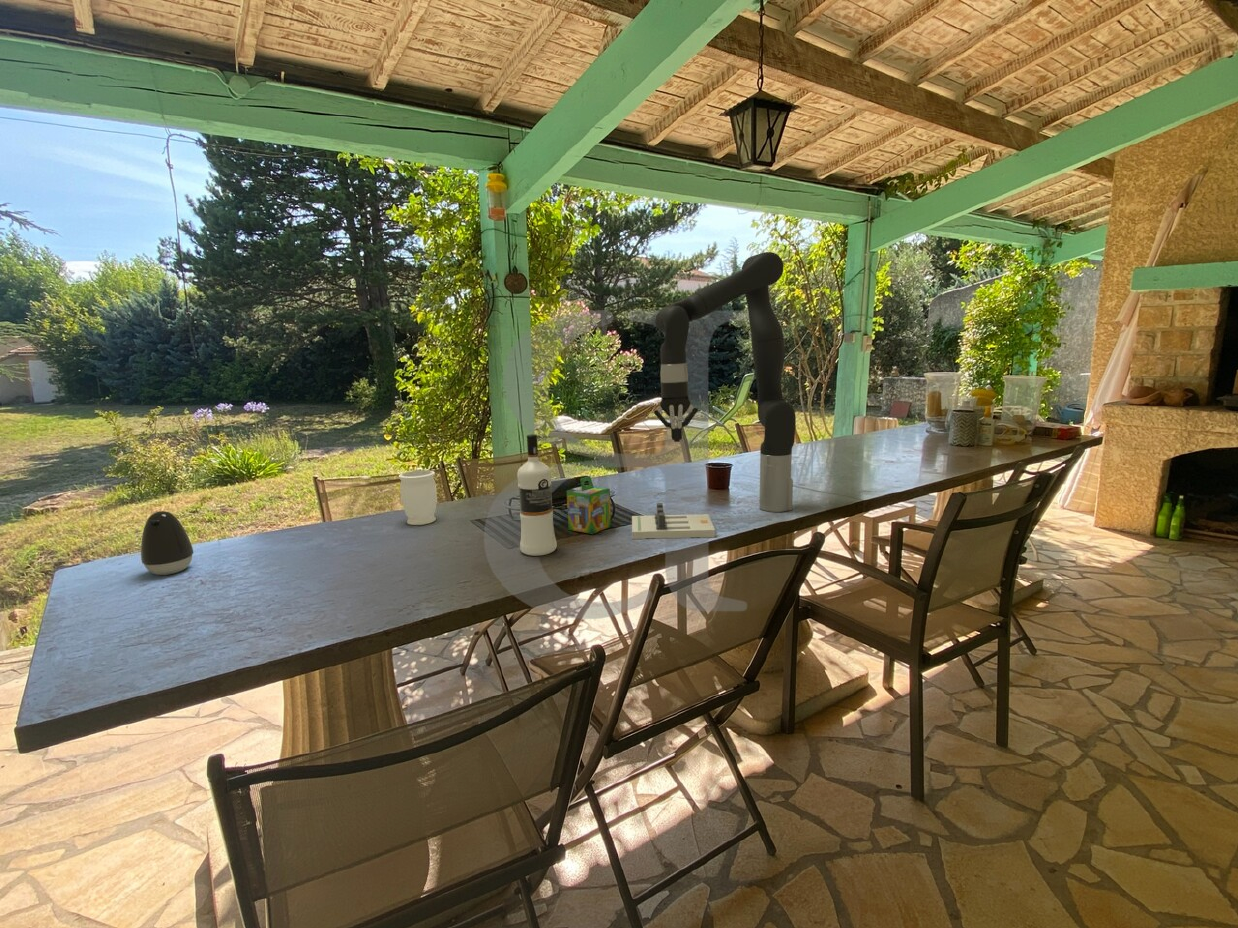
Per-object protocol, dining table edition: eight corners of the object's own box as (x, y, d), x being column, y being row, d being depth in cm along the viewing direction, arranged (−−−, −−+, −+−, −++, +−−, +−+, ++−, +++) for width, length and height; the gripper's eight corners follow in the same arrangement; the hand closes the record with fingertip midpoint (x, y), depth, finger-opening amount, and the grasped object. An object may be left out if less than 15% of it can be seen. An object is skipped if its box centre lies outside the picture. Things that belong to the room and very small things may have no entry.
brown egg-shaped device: (135, 581, 142) (123, 519, 139) (156, 566, 152) (144, 508, 149) (185, 576, 145) (174, 515, 142) (202, 561, 155) (192, 504, 152)
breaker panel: (707, 520, 176) (707, 513, 176) (715, 537, 162) (715, 529, 161) (632, 522, 177) (631, 515, 176) (632, 539, 162) (632, 531, 162)
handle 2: (666, 525, 165) (666, 512, 165) (667, 528, 162) (667, 515, 162) (656, 525, 166) (656, 512, 165) (656, 528, 162) (656, 515, 162)
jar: (432, 526, 179) (428, 476, 176) (398, 527, 180) (392, 477, 177) (443, 516, 190) (439, 469, 187) (410, 517, 190) (406, 470, 187)
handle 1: (664, 514, 175) (664, 502, 175) (665, 518, 172) (664, 505, 171) (654, 515, 175) (654, 502, 175) (655, 518, 172) (655, 505, 171)
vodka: (546, 542, 162) (540, 430, 156) (563, 551, 154) (557, 434, 148) (514, 549, 157) (506, 434, 151) (530, 559, 149) (522, 438, 143)
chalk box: (592, 535, 166) (589, 482, 163) (567, 530, 172) (564, 479, 169) (612, 526, 174) (611, 476, 171) (588, 522, 179) (586, 472, 176)
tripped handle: (665, 519, 170) (664, 507, 170) (665, 523, 167) (665, 510, 166) (655, 520, 170) (654, 507, 170) (655, 523, 167) (655, 510, 167)
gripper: (696, 378, 173) (698, 438, 177) (649, 380, 173) (652, 440, 177) (699, 379, 166) (701, 442, 169) (651, 382, 166) (654, 445, 169)
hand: (676, 441), depth 173 cm, fingers closed
